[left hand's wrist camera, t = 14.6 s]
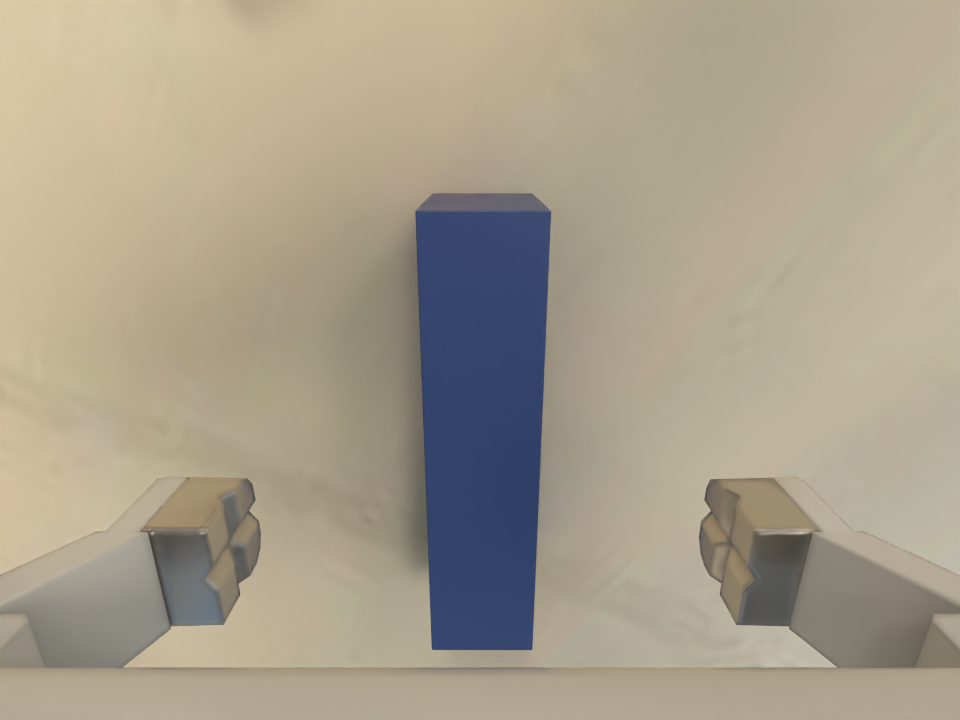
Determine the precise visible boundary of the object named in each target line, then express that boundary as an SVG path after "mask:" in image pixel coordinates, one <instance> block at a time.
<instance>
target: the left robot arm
mask: <svg viewBox="0 0 960 720" xmlns="http://www.w3.org/2000/svg"><path fill="white" fill-rule="evenodd" d="M254 502H255V495H254V490H253V485H252V483H251V482H250V481H249V480H248V479H247V478H198V477H193V478H190V477H165V478H160V479H157V480H156V481H155V482H154V483H153V484H152V485H151V486H150V487H149V488H148V489H147V490H146V491H145V492H144V493H143V494H142V495H141V496H140V497H139V498H138V499H137V500H136V501H135V502H134V503H133V504H132V505H131V506H130V507H129V508H128V509H127V510H126V511H125V512H124V513H123V514H122V515H121V516H120V517H119V518H118V519H117V521H116V522H115V523H114V524H113V525H112V526H111V527H110V528H109V529H108V530H107V531H106V532H94V533H92V534H90V535H88V536H86V537H83V538H81V539H79V540H77V541H74V542H72V543H70V544H68V545H66V546H63V547H61V548H59V549H57V550H55V551H52V552H50V553H48V554H46V555H44V556H41V557H39V558H37V559H35V560H33V561H30V562H28V563H26V564H24V565H22V566H19V567H17V568H15V569H13V570H11V571H8V572H6V573H4V574H2V575H0V720H960V575H958V574H956V573H954V572H951V571H949V570H947V569H945V568H943V567H940V566H938V565H936V564H934V563H932V562H929V561H927V560H925V559H923V558H921V557H918V556H916V555H914V554H912V553H910V552H907V551H905V550H903V549H901V548H899V547H896V546H894V545H892V544H890V543H888V542H885V541H883V540H881V539H879V538H877V537H874V536H872V535H870V534H868V533H866V532H854V531H853V530H852V529H851V528H850V527H849V526H848V524H847V523H846V522H845V521H844V520H843V519H842V518H841V517H840V516H839V515H838V514H837V513H836V512H835V511H834V510H833V509H832V508H831V507H830V506H829V505H828V504H827V503H826V502H825V501H824V500H823V499H822V498H821V497H820V496H819V495H818V494H817V493H816V492H815V491H814V490H813V489H812V488H811V487H810V486H809V485H808V484H807V483H806V482H805V481H804V480H803V479H800V478H798V477H777V478H746V479H711V480H710V482H709V484H708V486H707V488H706V494H705V502H706V503H707V505H708V506H709V508H710V510H711V512H710V513H709V514H708V515H707V516H706V517H705V518H704V519H703V520H702V521H701V526H700V535H699V541H700V552H701V556H702V559H703V563H704V565H705V567H706V569H707V571H708V573H709V575H710V576H711V577H713V578H714V579H716V580H717V581H719V582H720V583H722V585H721V590H720V596H721V598H722V599H723V601H724V603H725V605H726V607H727V609H728V610H729V612H730V614H731V616H732V618H733V619H734V621H735V623H736V625H764V626H790V627H789V629H790V630H792V631H793V632H794V633H795V634H797V635H798V636H799V637H800V638H802V639H803V640H804V641H805V642H807V643H808V644H809V645H810V646H812V647H813V648H814V649H815V650H817V651H818V652H819V653H820V654H822V655H823V656H824V657H825V658H827V659H828V660H829V661H831V662H832V663H833V664H834V665H836V666H837V667H838V668H122V667H123V666H125V665H126V664H127V663H128V662H130V661H131V660H132V659H133V658H135V657H136V656H137V655H138V654H140V653H141V652H142V651H144V650H145V649H146V648H147V647H149V646H150V645H151V644H152V643H154V642H155V641H156V640H157V639H159V638H160V637H161V636H162V635H164V634H165V633H166V632H167V631H169V630H170V629H171V627H170V626H196V625H224V623H225V621H226V620H227V618H228V616H229V614H230V612H231V610H232V609H233V607H234V605H235V603H236V601H237V599H238V598H239V596H240V590H239V585H238V583H240V582H241V581H243V580H244V579H246V578H247V577H249V576H250V575H251V573H252V571H253V569H254V567H255V565H256V563H257V559H258V555H259V551H260V541H261V532H260V525H259V521H258V520H257V519H256V518H255V517H254V516H253V515H252V514H251V513H250V512H249V510H250V508H251V506H252V505H253V503H254Z"/></svg>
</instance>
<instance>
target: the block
mask: <svg viewBox="0 0 960 720" xmlns="http://www.w3.org/2000/svg"><path fill="white" fill-rule="evenodd" d="M550 222H551V211H550V210H549V209H548V208H547V207H546V206H545V205H544V204H543V203H542V202H540V201H539V200H538V199H537V198H536V197H535V196H534V195H533V194H432V195H431V196H430V197H429V198H428V199H427V200H426V201H425V202H424V203H423V204H422V205H421V206H420V207H419V208H418V209H417V210H416V238H417V265H418V291H419V318H420V345H421V371H422V398H423V424H424V451H425V477H426V504H427V531H428V557H429V584H430V610H431V637H432V650H532V643H533V620H534V596H535V573H536V550H537V526H538V503H539V479H540V456H541V433H542V409H543V386H544V362H545V339H546V316H547V292H548V269H549V245H550Z"/></svg>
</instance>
